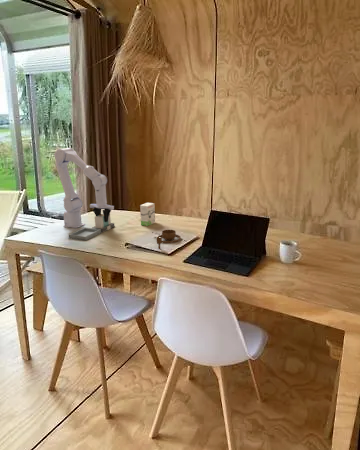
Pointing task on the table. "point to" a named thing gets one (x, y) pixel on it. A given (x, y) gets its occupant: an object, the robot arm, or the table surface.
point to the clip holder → (105, 227)
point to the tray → (85, 233)
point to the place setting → (167, 237)
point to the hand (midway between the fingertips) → (102, 221)
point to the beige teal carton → (101, 221)
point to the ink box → (147, 214)
